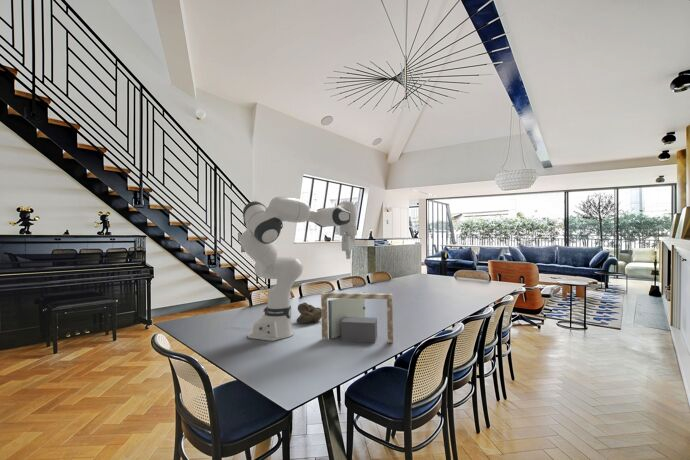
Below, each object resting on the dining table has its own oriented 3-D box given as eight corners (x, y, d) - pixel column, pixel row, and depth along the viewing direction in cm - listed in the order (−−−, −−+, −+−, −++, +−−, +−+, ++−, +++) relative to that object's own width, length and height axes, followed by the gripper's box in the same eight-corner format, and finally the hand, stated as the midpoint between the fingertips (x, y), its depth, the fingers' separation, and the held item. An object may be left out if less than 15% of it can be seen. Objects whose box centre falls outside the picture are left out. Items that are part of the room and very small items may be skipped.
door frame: (321, 340, 146) (321, 293, 146) (323, 338, 148) (322, 292, 149) (393, 343, 140) (392, 294, 141) (393, 341, 143) (392, 293, 143)
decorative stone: (322, 314, 170) (297, 304, 170) (315, 332, 170) (290, 322, 171) (325, 306, 186) (302, 297, 186) (319, 322, 186) (296, 313, 187)
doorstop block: (341, 340, 145) (341, 321, 145) (345, 334, 154) (345, 316, 154) (375, 342, 142) (374, 323, 142) (377, 336, 151) (376, 317, 151)
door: (331, 339, 145) (330, 301, 145) (327, 338, 147) (326, 300, 147) (365, 325, 166) (365, 292, 166) (361, 324, 168) (361, 291, 168)
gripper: (350, 232, 151) (351, 260, 151) (356, 232, 171) (356, 257, 171) (338, 232, 152) (338, 260, 152) (345, 232, 172) (345, 257, 172)
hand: (348, 258), depth 161 cm, fingers closed
